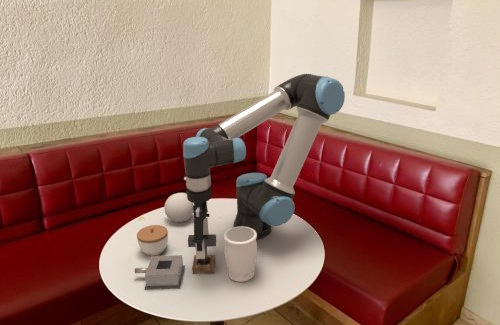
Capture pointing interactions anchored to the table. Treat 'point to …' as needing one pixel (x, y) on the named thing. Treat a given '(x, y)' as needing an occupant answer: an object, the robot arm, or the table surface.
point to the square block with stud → (163, 272)
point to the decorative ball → (178, 207)
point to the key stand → (204, 266)
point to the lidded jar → (153, 239)
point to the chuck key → (208, 241)
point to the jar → (240, 252)
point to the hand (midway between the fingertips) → (202, 246)
